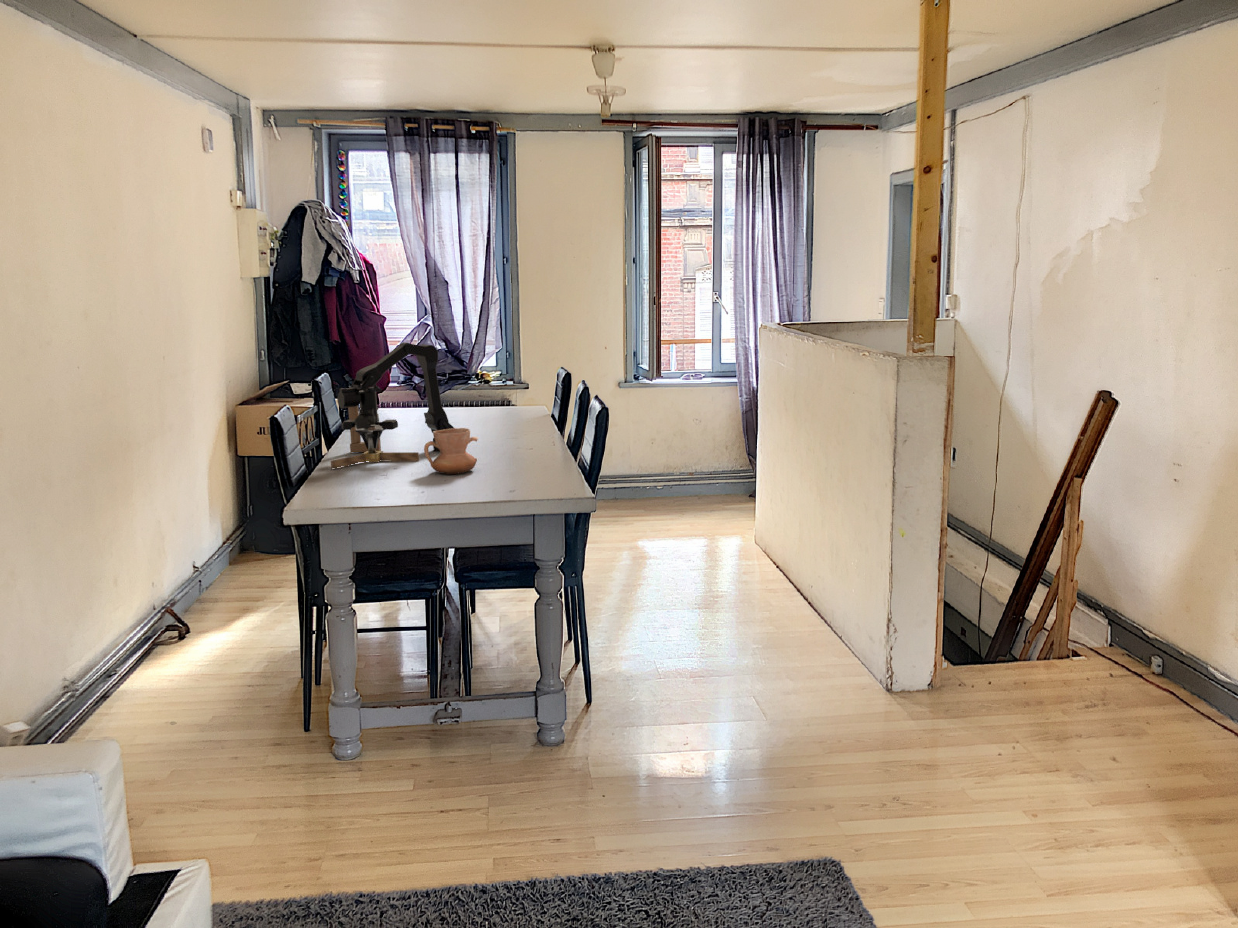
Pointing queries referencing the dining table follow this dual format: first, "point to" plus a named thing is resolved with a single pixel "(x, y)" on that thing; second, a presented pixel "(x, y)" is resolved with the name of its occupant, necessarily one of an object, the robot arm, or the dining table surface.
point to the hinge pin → (370, 442)
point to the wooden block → (355, 436)
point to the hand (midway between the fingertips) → (371, 448)
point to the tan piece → (376, 458)
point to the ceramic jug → (451, 451)
